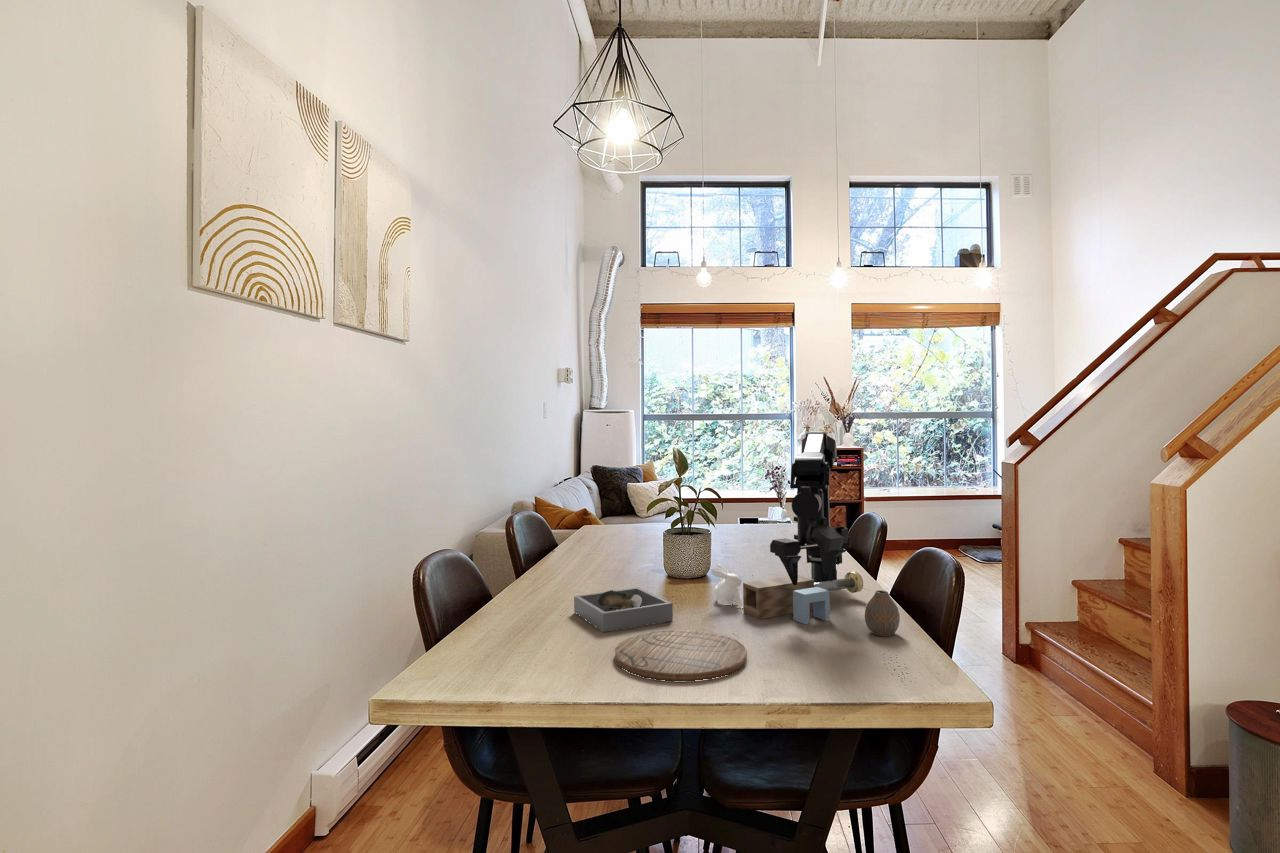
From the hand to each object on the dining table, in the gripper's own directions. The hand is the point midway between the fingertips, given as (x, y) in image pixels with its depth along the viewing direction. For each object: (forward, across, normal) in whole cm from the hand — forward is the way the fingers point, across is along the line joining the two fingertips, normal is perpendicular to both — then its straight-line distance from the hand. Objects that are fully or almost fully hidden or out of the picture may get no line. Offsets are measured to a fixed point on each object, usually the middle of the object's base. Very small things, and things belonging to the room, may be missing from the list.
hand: (811, 582), depth 156 cm
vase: (+8, +6, -15) cm, 18 cm away
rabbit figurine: (+9, -9, +21) cm, 24 cm away
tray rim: (+8, -36, +23) cm, 44 cm away
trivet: (+9, -38, -7) cm, 40 cm away
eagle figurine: (+9, -37, +22) cm, 44 cm away
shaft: (+7, +12, +9) cm, 16 cm away
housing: (+8, -2, +9) cm, 12 cm away
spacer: (+8, 0, 0) cm, 8 cm away
